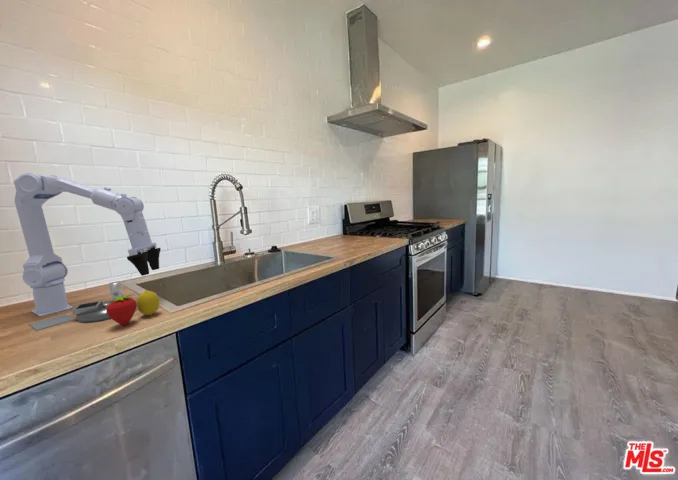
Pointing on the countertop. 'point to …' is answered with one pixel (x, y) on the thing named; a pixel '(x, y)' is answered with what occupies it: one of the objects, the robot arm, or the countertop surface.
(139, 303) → the lemon
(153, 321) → the countertop surface
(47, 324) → the mat
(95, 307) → the grey rounded hollow piece
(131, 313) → the strawberry
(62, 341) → the countertop surface
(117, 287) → the key
